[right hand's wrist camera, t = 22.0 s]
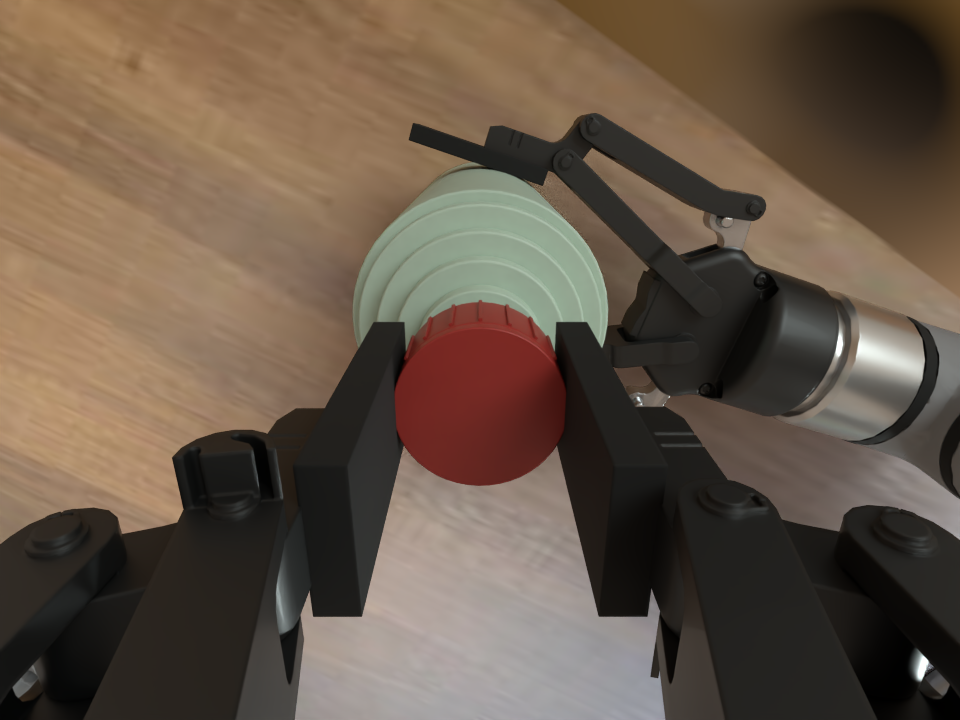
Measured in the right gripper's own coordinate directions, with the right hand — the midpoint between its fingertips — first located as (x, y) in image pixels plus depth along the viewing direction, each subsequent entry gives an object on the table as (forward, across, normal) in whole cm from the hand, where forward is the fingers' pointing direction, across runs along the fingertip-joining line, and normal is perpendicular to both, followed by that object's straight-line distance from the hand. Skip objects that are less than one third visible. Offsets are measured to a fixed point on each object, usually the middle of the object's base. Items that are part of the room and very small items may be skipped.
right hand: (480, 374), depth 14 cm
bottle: (+22, 0, 0) cm, 22 cm away
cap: (-2, 0, 0) cm, 2 cm away
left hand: (+16, -4, +1) cm, 17 cm away
